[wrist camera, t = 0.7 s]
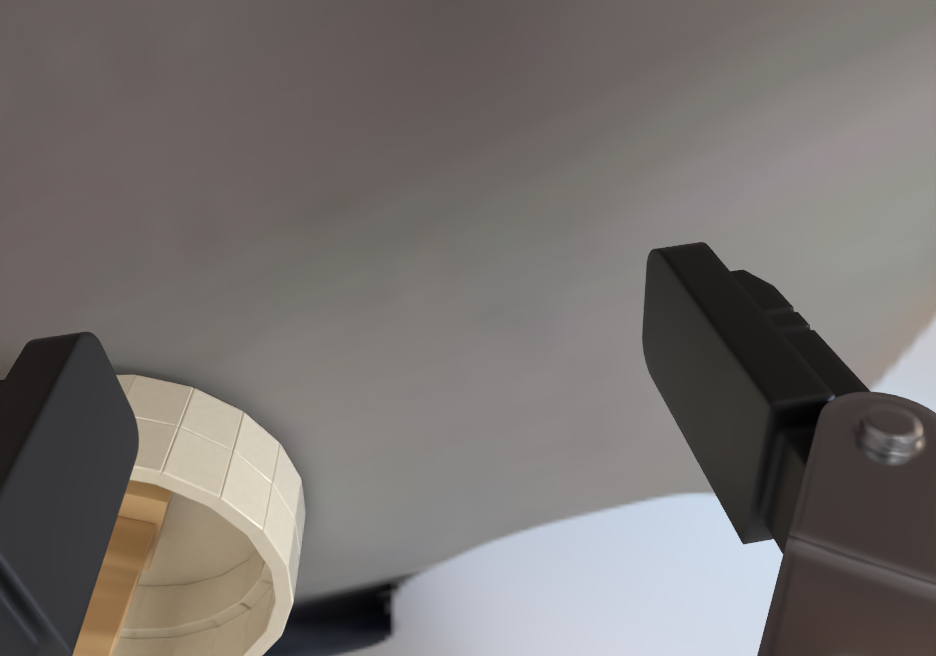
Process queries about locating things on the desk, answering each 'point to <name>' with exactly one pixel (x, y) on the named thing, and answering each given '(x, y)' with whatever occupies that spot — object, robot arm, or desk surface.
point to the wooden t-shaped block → (123, 566)
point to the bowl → (212, 527)
